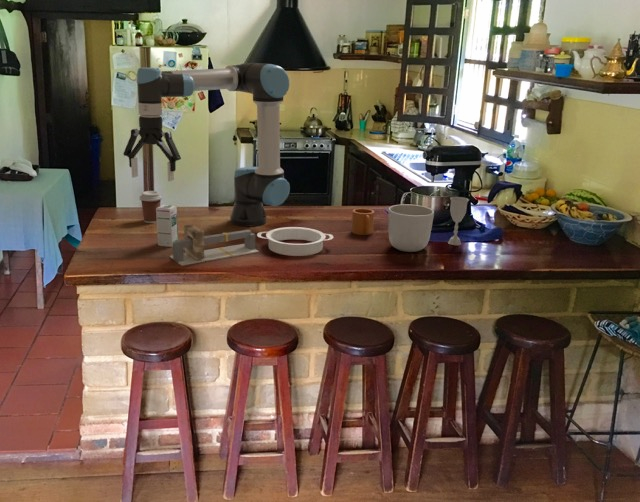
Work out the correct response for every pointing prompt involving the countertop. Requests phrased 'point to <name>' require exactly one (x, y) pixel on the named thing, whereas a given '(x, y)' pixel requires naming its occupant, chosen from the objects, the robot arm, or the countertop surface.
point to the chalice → (457, 215)
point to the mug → (362, 221)
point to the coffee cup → (150, 205)
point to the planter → (409, 226)
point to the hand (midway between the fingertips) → (152, 178)
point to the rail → (217, 252)
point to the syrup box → (167, 225)
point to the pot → (295, 233)
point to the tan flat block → (194, 241)
